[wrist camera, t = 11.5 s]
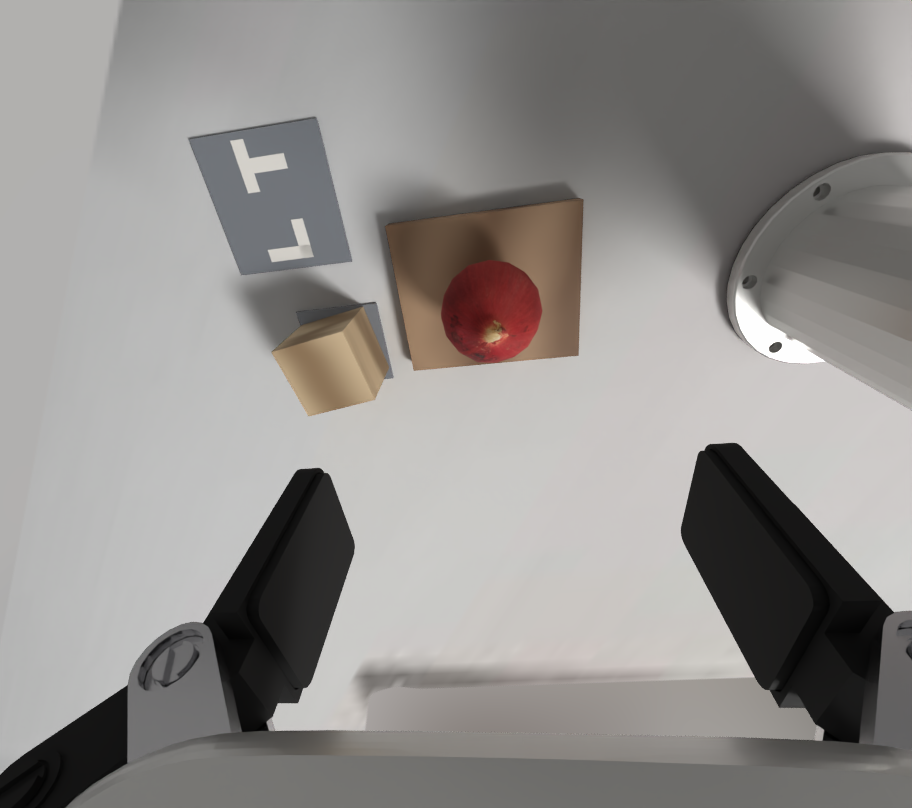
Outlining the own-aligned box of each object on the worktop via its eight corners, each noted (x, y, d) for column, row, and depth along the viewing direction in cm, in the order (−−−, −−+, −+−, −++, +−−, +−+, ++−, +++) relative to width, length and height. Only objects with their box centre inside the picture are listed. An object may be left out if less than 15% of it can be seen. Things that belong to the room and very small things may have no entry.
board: (579, 198, 25) (583, 199, 23) (574, 348, 30) (578, 355, 29) (388, 223, 26) (385, 226, 25) (415, 363, 31) (413, 370, 30)
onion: (503, 350, 29) (510, 408, 22) (431, 312, 27) (415, 361, 21) (550, 277, 26) (576, 318, 19) (472, 231, 25) (470, 257, 18)
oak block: (363, 306, 29) (342, 331, 24) (389, 367, 31) (374, 399, 27) (301, 325, 30) (271, 352, 25) (331, 382, 32) (308, 416, 28)
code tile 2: (376, 302, 29) (375, 303, 28) (393, 376, 32) (393, 378, 31) (297, 311, 29) (296, 312, 29) (321, 383, 32) (320, 384, 32)
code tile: (317, 118, 23) (315, 117, 23) (352, 260, 27) (351, 261, 27) (190, 139, 24) (188, 139, 24) (242, 274, 28) (241, 275, 28)
